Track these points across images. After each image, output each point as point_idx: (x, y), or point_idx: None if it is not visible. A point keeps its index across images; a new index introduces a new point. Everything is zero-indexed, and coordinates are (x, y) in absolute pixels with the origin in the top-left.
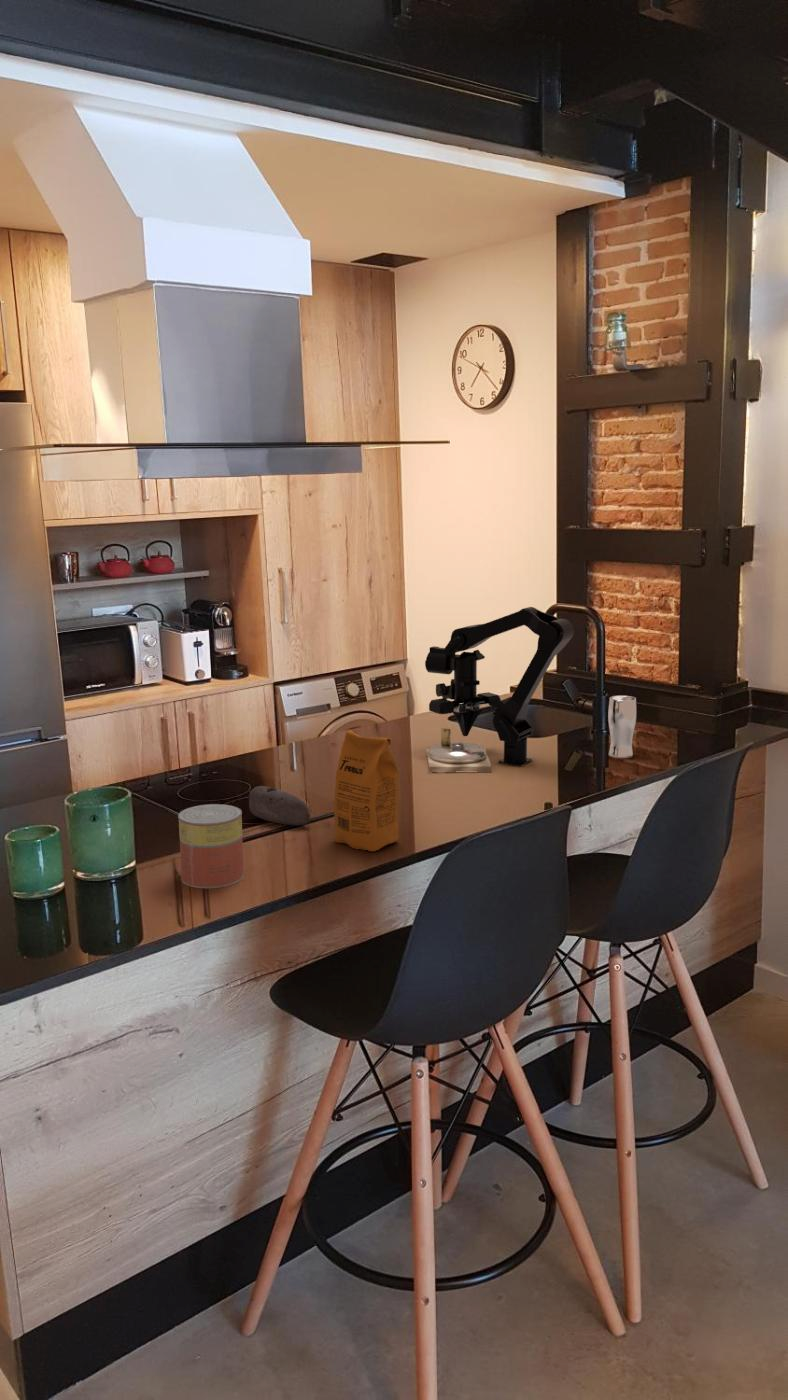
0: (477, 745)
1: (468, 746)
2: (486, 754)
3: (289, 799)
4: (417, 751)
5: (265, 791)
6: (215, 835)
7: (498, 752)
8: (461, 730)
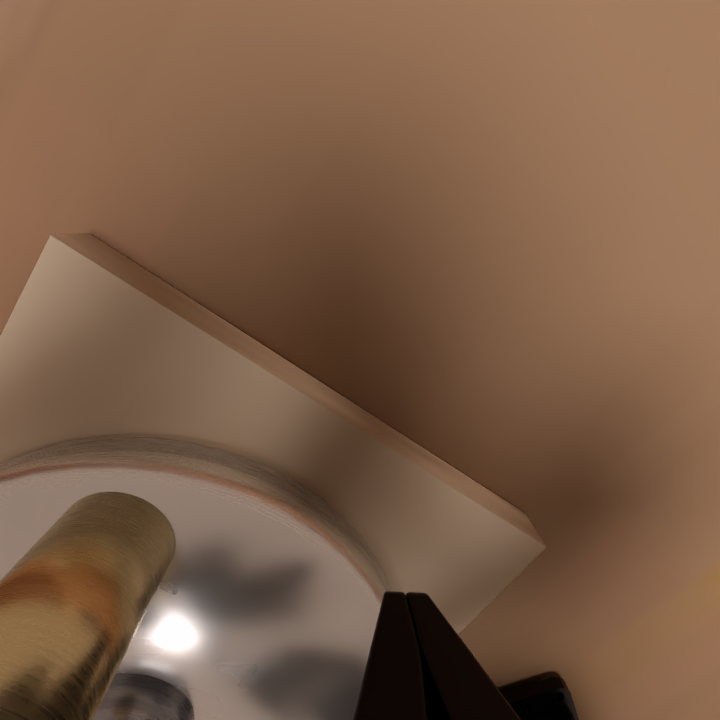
0: None
1: (280, 701)
2: None
3: None
4: (57, 57)
5: None
6: None
7: (624, 542)
8: (369, 660)
